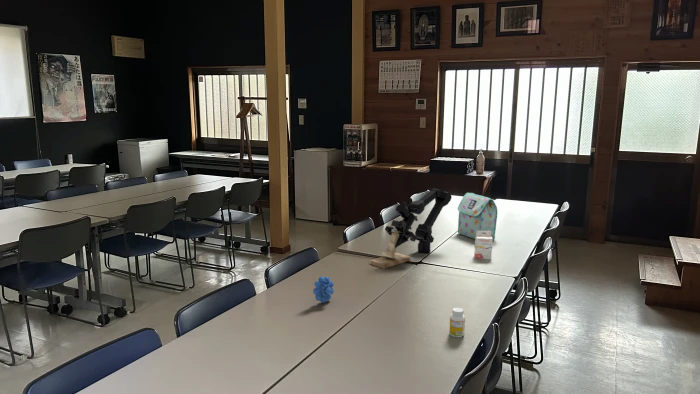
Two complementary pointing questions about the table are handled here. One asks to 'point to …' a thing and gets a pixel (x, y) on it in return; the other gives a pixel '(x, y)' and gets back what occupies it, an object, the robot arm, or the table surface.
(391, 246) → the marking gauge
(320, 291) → the blue knobbly wheel
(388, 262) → the oak board
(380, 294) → the table surface
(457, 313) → the supplement bottle
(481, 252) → the ink cartridge box
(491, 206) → the lunch bag
